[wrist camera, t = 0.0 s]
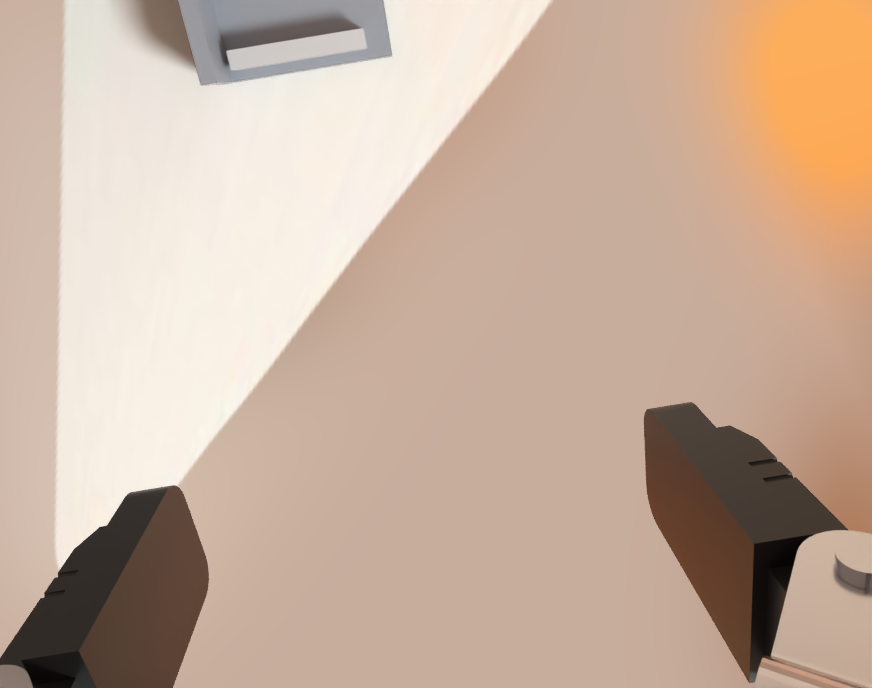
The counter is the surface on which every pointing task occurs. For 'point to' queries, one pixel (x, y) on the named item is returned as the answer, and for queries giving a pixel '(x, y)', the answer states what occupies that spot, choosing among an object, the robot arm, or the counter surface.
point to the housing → (281, 36)
